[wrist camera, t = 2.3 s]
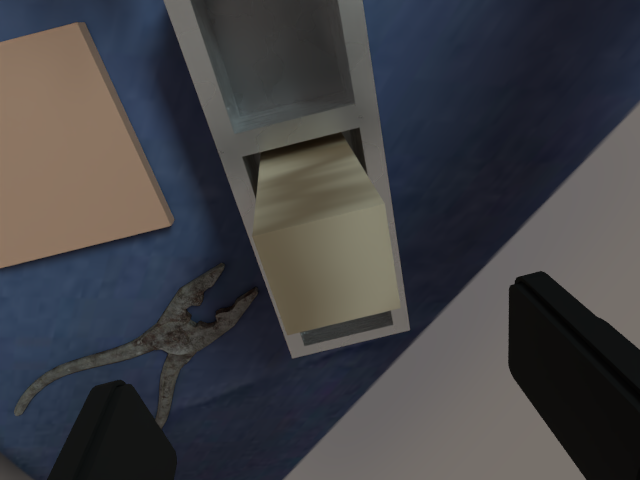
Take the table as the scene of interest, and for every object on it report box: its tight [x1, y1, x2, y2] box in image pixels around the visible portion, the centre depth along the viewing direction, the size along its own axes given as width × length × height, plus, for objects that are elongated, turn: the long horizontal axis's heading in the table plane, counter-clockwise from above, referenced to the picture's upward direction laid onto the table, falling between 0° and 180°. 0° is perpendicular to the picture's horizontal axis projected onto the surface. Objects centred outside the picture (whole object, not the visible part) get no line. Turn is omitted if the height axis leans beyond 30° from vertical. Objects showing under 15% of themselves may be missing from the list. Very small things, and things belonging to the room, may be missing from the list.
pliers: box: [14, 263, 258, 429], centre depth 27 cm, size 10×1×20 cm
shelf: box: [164, 0, 410, 358], centre depth 20 cm, size 7×19×4 cm, turn 13°
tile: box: [0, 22, 175, 268], centre depth 20 cm, size 10×10×1 cm
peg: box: [252, 132, 401, 335], centre depth 17 cm, size 4×4×10 cm
